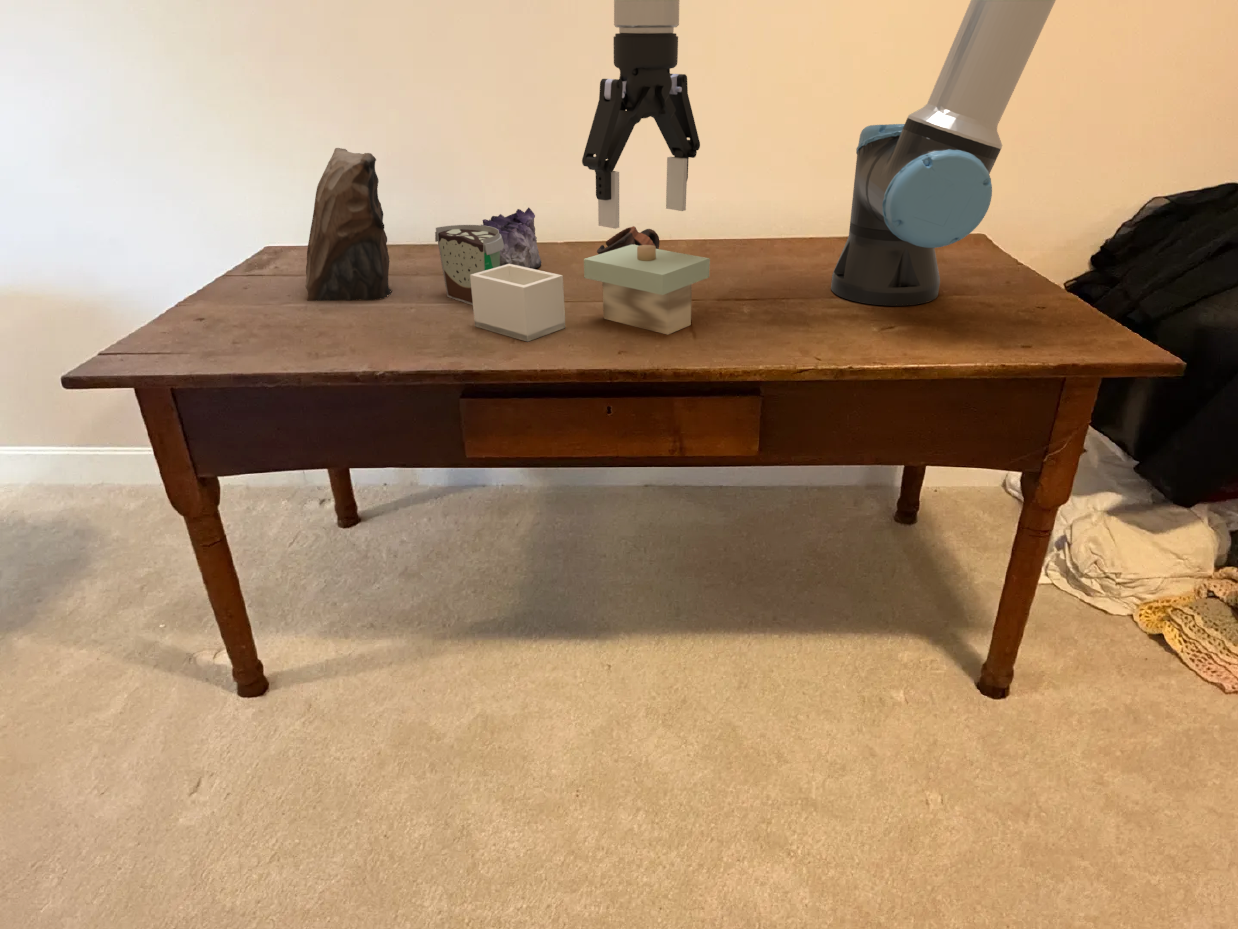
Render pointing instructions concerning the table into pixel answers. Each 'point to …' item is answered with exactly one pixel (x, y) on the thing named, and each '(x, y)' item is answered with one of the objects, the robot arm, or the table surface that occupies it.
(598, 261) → the lid
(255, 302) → the table surface
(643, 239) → the pottery mug
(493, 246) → the food container
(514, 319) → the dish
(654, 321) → the marbled stone block
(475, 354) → the table surface
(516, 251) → the geode
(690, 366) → the table surface
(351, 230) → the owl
